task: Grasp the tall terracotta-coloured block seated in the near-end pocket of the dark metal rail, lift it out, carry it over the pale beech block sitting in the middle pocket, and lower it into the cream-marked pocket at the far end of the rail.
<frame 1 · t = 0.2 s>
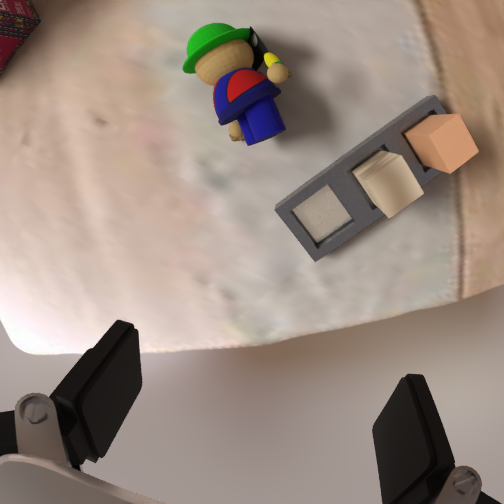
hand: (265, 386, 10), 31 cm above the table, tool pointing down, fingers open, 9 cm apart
beech block: (375, 175, 35), point 1 cm above the table, touching rail
toy: (244, 84, 34), on the table
terracotta block: (425, 139, 32), point 1 cm above the table, touching rail
box: (7, 42, 33), on the table
rail: (373, 174, 36), on the table
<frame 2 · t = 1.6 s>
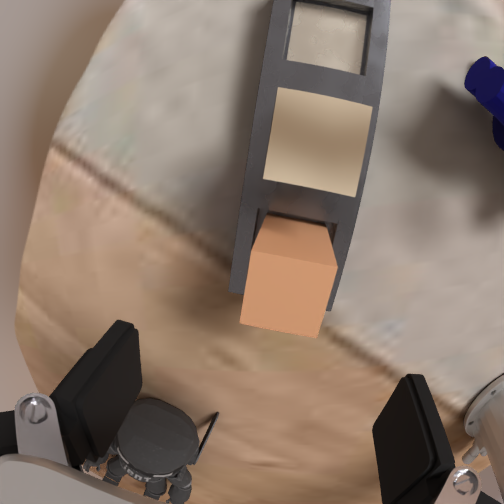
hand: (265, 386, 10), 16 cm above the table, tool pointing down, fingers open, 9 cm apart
beech block: (311, 140, 21), point 1 cm above the table, touching rail
terracotta block: (290, 246, 24), point 1 cm above the table, touching rail
rail: (310, 140, 22), on the table
robot: (152, 443, 39), on the table
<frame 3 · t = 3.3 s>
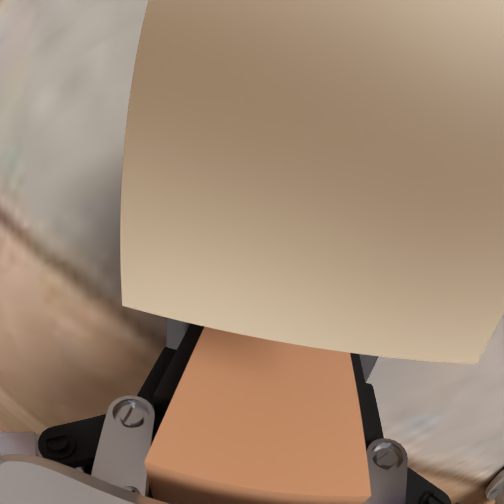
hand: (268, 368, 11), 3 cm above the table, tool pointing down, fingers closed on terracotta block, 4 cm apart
beech block: (314, 134, 10), point 1 cm above the table, touching rail
terracotta block: (272, 337, 13), point 1 cm above the table, touching gripper, rail
rail: (312, 134, 11), on the table
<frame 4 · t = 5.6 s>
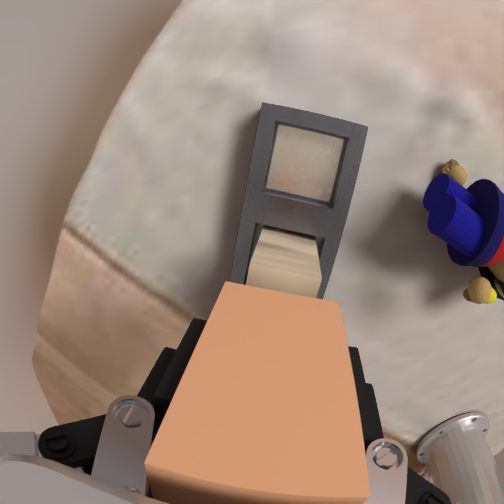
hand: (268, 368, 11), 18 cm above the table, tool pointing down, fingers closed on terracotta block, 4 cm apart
beech block: (283, 256, 27), point 1 cm above the table, touching rail
toy: (472, 224, 25), on the table
terracotta block: (272, 338, 13), point 16 cm above the table, touching gripper
rail: (284, 251, 28), on the table
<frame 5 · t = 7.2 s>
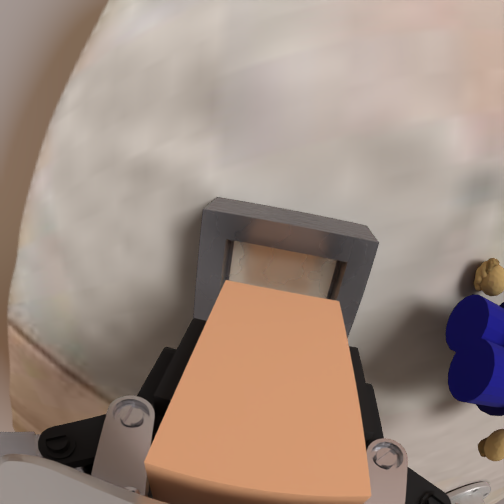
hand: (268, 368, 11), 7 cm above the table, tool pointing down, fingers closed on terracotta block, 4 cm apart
toy: (502, 326, 17), on the table
terracotta block: (272, 337, 13), point 5 cm above the table, touching gripper
rail: (256, 381, 21), on the table
when the fingers open (4 cm above the table, at t = 8.2 s): terracotta block stays where it is, resting on rail.
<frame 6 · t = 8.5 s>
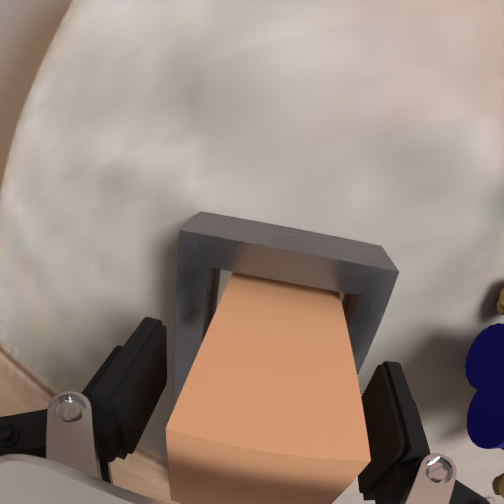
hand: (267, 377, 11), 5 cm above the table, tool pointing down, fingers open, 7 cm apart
terracotta block: (276, 325, 14), point 1 cm above the table, touching rail
rail: (250, 414, 18), on the table
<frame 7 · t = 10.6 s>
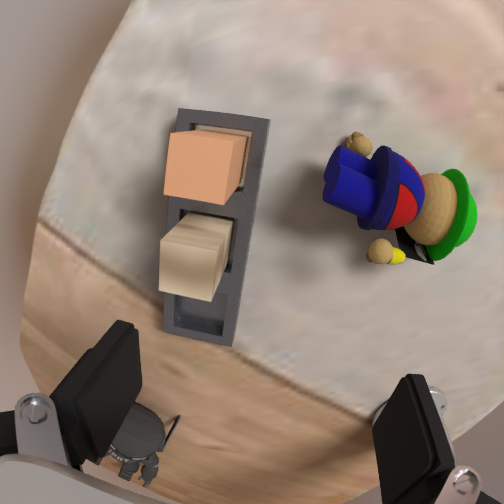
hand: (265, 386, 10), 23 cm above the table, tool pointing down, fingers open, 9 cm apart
beech block: (209, 236, 31), point 1 cm above the table, touching rail
toy: (390, 191, 29), on the table
terracotta block: (220, 156, 28), point 1 cm above the table, touching rail
rail: (212, 232, 33), on the table
robot: (130, 431, 51), on the table
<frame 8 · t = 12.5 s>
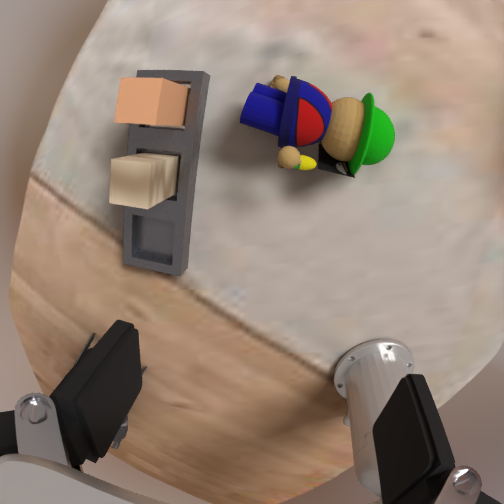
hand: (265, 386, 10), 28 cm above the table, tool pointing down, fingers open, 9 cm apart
beech block: (161, 172, 36), point 1 cm above the table, touching rail
toy: (317, 125, 33), on the table
terracotta block: (169, 105, 33), point 1 cm above the table, touching rail
rail: (165, 171, 37), on the table
robot: (103, 390, 54), on the table
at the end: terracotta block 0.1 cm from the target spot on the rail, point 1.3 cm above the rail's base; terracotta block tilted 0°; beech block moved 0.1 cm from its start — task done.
